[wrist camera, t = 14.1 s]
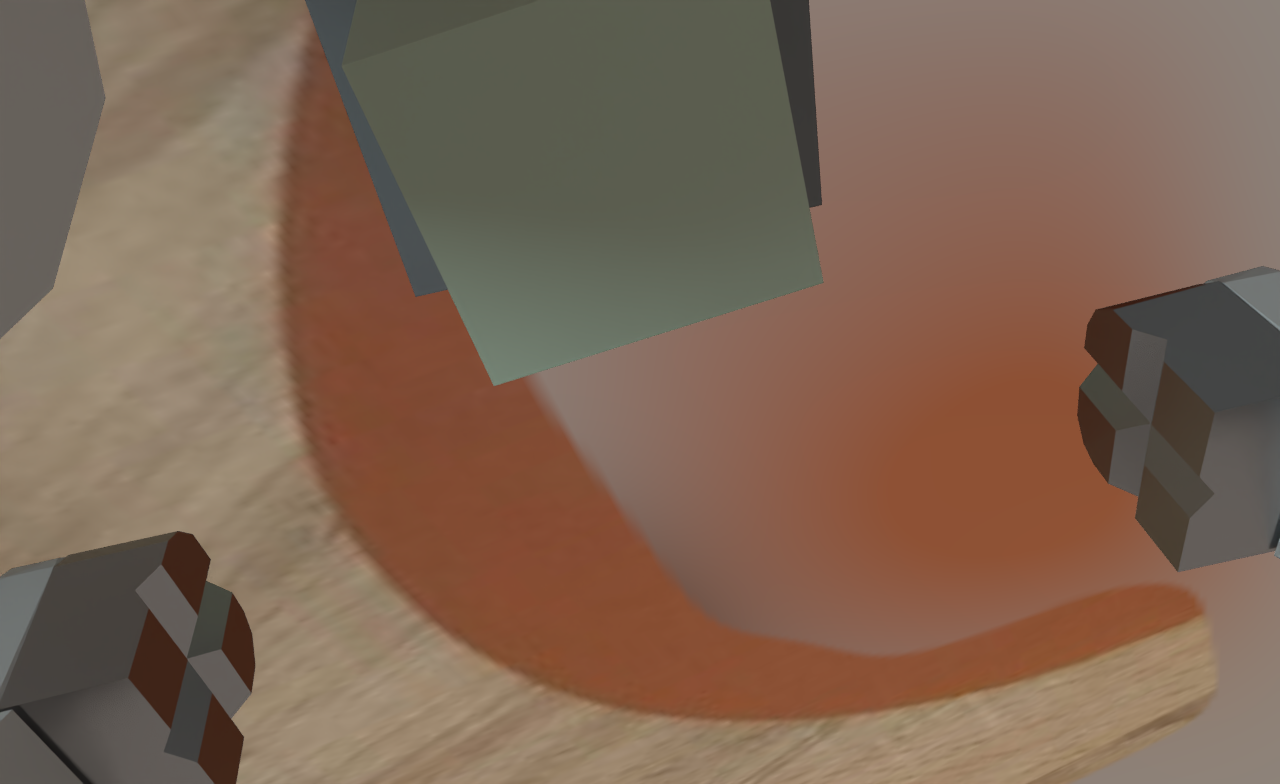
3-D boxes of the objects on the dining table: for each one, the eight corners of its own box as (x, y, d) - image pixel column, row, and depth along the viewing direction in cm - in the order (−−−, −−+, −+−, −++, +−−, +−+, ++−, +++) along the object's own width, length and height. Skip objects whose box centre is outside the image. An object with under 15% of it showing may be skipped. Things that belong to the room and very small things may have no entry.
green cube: (745, 138, 19) (823, 282, 15) (485, 221, 19) (494, 386, 15) (679, -157, 15) (755, -72, 12) (368, -52, 16) (340, 66, 12)
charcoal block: (771, 121, 23) (822, 204, 20) (420, 200, 23) (415, 296, 20) (730, -306, 18) (790, -285, 15) (280, -206, 18) (244, -163, 15)
